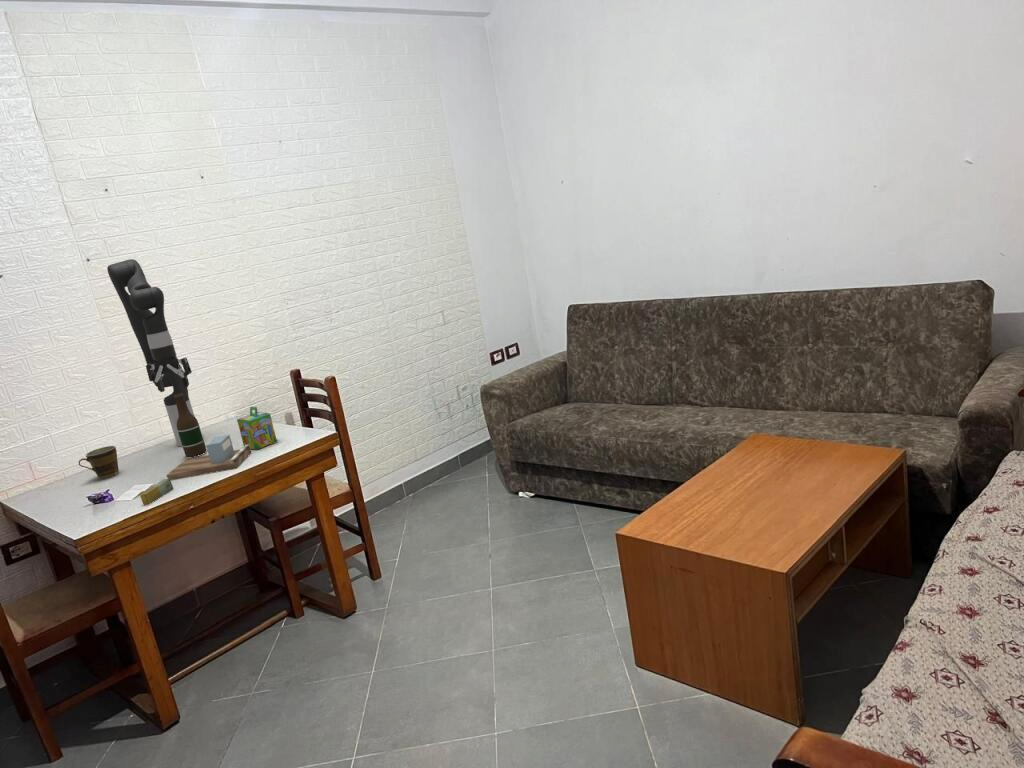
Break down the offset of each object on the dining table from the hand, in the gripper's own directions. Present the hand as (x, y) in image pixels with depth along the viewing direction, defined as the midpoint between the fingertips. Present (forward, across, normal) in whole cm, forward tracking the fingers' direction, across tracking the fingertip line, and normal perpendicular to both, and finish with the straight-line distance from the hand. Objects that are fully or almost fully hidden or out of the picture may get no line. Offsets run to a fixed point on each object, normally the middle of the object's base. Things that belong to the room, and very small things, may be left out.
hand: (174, 389), depth 259 cm
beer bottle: (+28, -5, +12) cm, 31 cm away
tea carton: (+26, +13, -7) cm, 30 cm away
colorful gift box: (+28, +21, +9) cm, 36 cm away
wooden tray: (+28, +8, -7) cm, 30 cm away
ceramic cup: (+28, -36, +3) cm, 46 cm away
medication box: (+28, 0, -31) cm, 42 cm away
